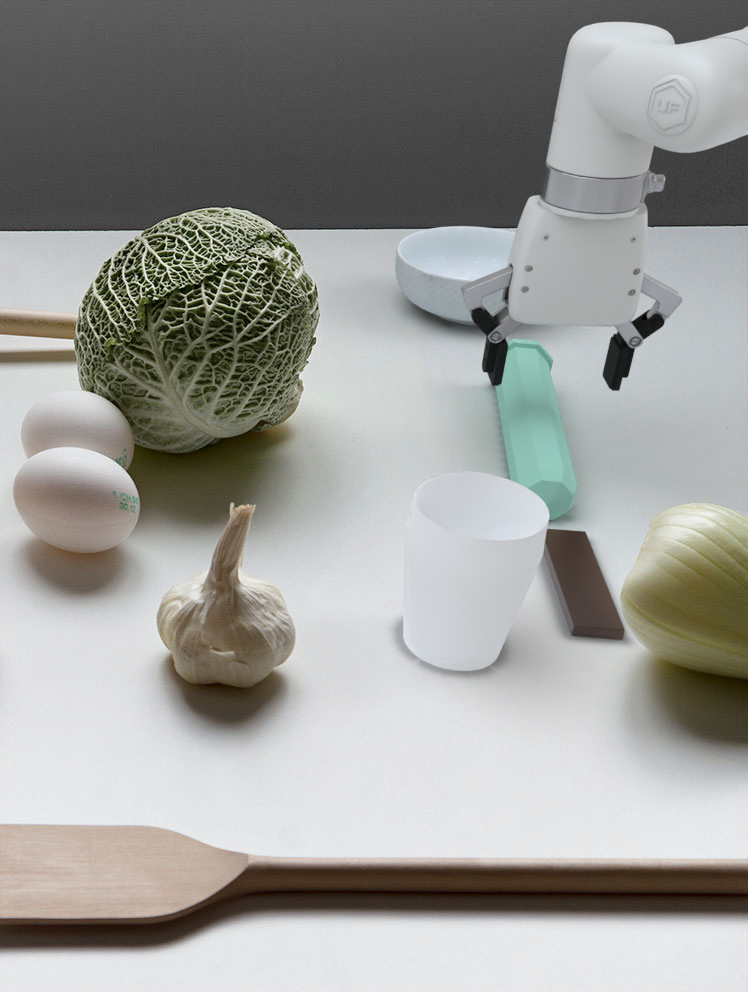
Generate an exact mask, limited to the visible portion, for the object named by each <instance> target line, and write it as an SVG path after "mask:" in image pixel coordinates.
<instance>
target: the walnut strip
mask: <svg viewBox="0 0 748 992" xmlns="http://www.w3.org/2000/svg"><path fill="white" fill-rule="evenodd" d="M543 557H544V560H545V563H546V566H547V568H548V571H549V574H550V577H551V580H552V582H553V583H552V584H553V586H554V589H555V592H556V595H557V598H558V600H559V602H560V603H559V604H560V606H561V609H562V612H563V615H564V618H565V621H566V624H567V627H568V630H569V633H570V635H571V637H580V638H592V639H603V640H605V639H607V640H617V641H622V640H623V638H624V634H625V631H626V630H625V627H624V624H623V621H622V620H621V617H620V614H619V612H618V609H617V607H616V604H615V602H614V600H613V597H612V594H611V592H610V589H609V587H608V584H607V582H606V579H605V576H604V574H603V571H602V570H601V566H600V564H599V561H598V559H597V557H596V555H595V552H594V549H593V547H592V544H591V542H590V539H589V536H588V534H587V532H586V531H584V530H574V529H572V530H571V529H570V530H569V529H559V528H547V532H546V538H545V544H544V552H543Z"/></svg>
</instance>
